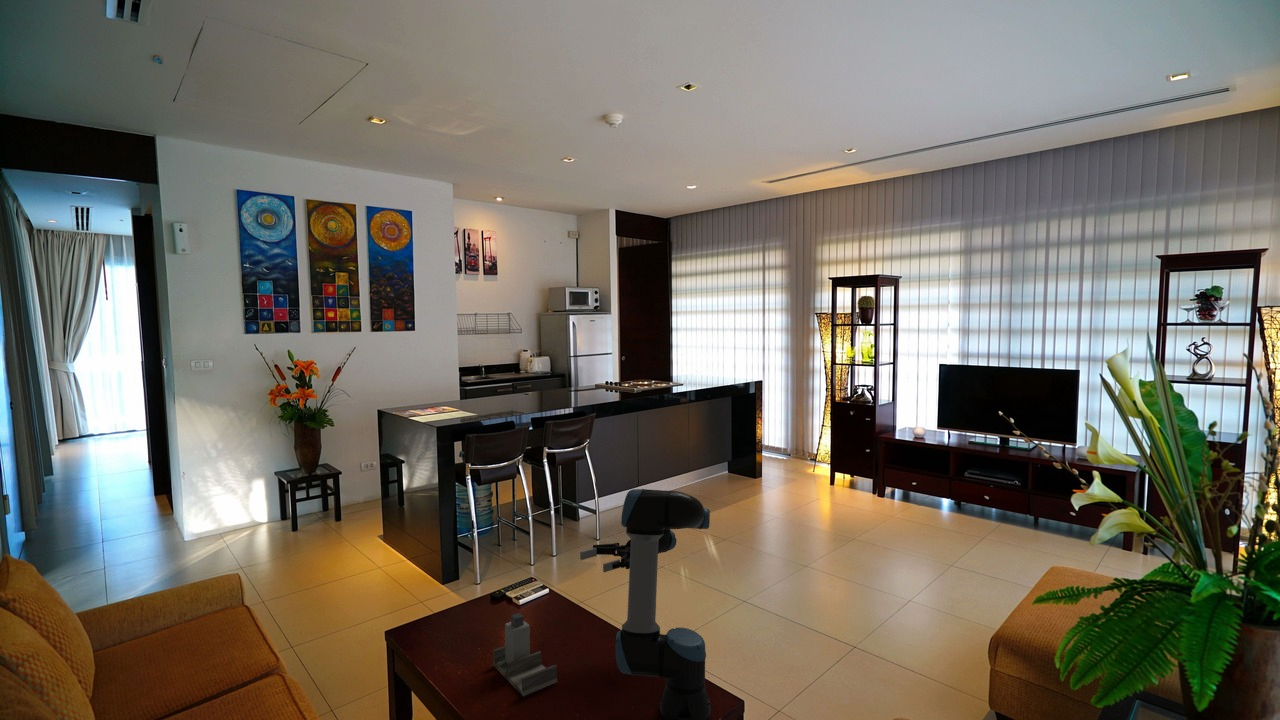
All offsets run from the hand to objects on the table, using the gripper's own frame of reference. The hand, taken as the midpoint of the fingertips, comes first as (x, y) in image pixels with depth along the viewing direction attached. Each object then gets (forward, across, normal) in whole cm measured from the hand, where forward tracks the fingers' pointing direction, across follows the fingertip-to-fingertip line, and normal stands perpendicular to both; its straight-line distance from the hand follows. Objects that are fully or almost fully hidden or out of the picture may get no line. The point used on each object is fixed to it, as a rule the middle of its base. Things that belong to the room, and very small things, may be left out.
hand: (591, 561), depth 207 cm
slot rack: (+22, +6, -34) cm, 41 cm away
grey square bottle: (+22, +11, -32) cm, 41 cm away
